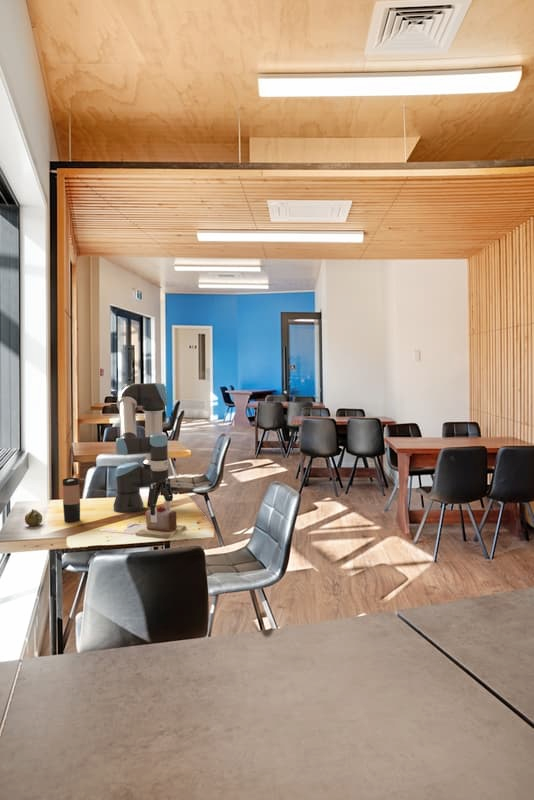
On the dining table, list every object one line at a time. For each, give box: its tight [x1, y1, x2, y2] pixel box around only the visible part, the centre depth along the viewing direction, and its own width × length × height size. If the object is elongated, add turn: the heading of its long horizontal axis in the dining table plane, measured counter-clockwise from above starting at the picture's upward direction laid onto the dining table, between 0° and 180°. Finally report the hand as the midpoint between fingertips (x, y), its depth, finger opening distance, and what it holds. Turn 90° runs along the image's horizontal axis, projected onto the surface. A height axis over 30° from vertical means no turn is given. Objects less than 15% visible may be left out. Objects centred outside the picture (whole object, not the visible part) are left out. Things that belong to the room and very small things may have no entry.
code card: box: [98, 521, 147, 535], centre depth 270 cm, size 16×18×1 cm
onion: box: [24, 508, 43, 527], centre depth 276 cm, size 8×8×8 cm
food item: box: [144, 505, 178, 531], centre depth 262 cm, size 14×8×10 cm, turn 67°
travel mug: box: [62, 477, 81, 524], centre depth 283 cm, size 8×8×20 cm
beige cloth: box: [135, 524, 187, 539], centre depth 262 cm, size 16×16×1 cm
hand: (160, 518), depth 262 cm, fingers open, 11 cm apart
